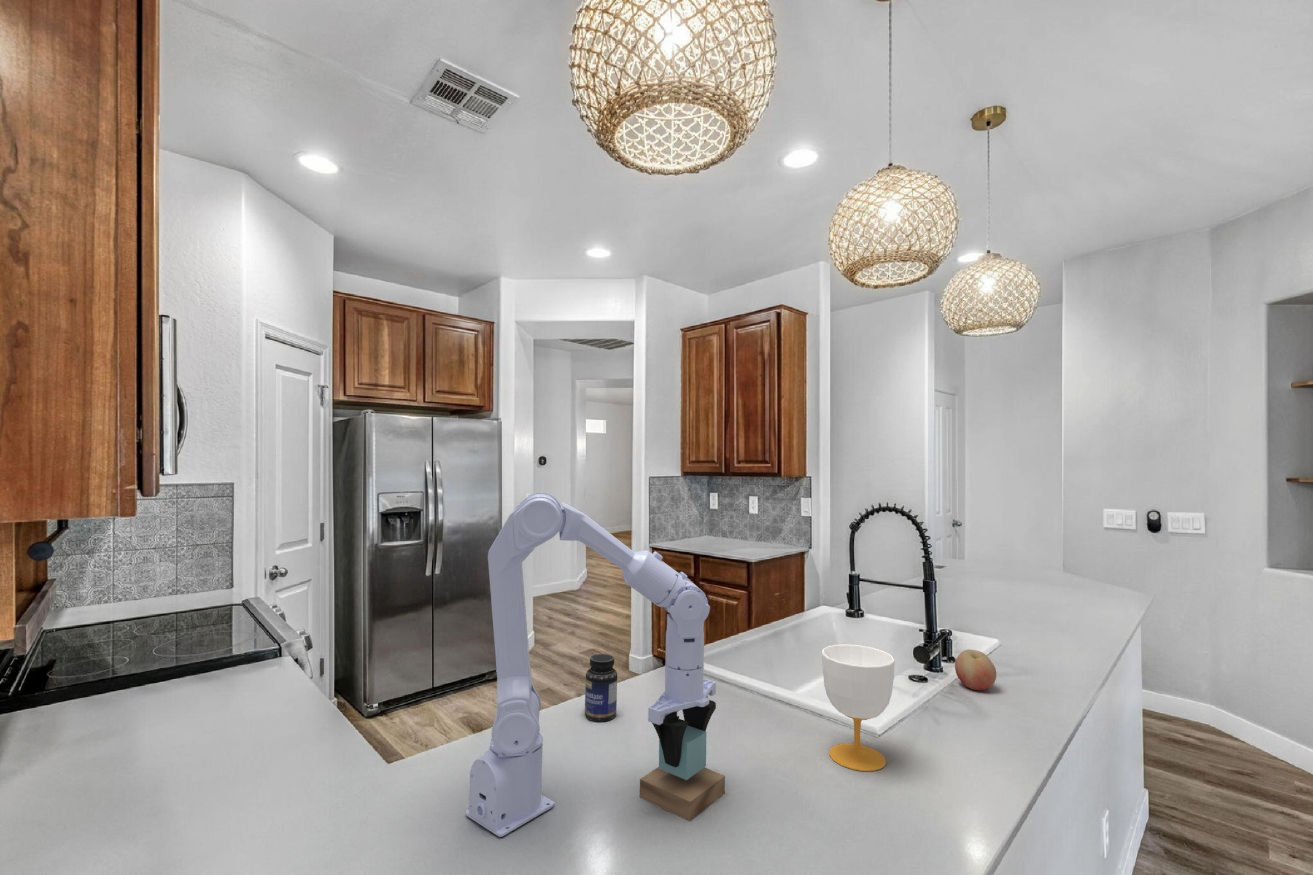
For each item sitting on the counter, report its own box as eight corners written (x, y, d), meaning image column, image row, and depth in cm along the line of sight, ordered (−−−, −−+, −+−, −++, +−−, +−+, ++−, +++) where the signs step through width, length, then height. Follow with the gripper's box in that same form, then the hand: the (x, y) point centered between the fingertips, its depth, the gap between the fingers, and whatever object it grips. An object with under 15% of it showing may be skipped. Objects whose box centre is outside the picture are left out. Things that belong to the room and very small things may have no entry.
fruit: (959, 692, 129) (959, 655, 129) (952, 679, 137) (952, 644, 137) (1000, 697, 127) (1000, 659, 127) (990, 683, 134) (990, 648, 135)
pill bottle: (578, 717, 112) (579, 659, 113) (596, 706, 118) (597, 650, 118) (605, 725, 110) (606, 664, 110) (622, 713, 115) (623, 655, 116)
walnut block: (689, 824, 81) (690, 801, 81) (639, 799, 86) (639, 778, 86) (724, 796, 88) (725, 775, 88) (676, 775, 93) (676, 755, 93)
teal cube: (686, 779, 84) (687, 744, 84) (658, 768, 87) (659, 733, 87) (706, 766, 88) (706, 731, 88) (678, 755, 91) (679, 722, 91)
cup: (813, 764, 97) (814, 658, 97) (828, 735, 107) (829, 640, 108) (890, 783, 91) (890, 671, 92) (898, 751, 102) (898, 650, 102)
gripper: (677, 684, 80) (675, 787, 79) (732, 657, 91) (731, 747, 90) (637, 671, 84) (635, 769, 83) (695, 647, 95) (693, 733, 95)
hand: (683, 756), depth 87 cm, fingers closed on teal cube, 5 cm apart
